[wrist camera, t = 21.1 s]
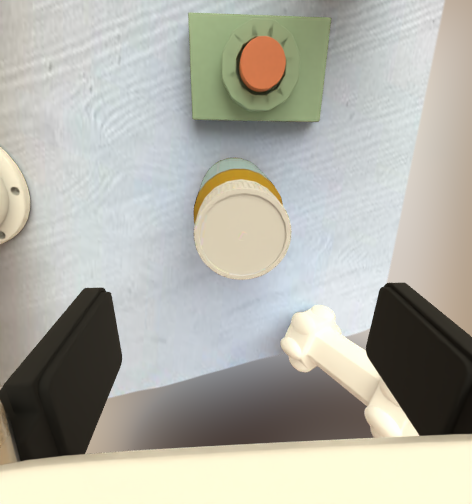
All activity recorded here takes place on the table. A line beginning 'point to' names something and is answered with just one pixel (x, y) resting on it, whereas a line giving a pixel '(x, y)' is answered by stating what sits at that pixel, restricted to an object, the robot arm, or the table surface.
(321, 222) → the table surface
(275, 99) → the button housing
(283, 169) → the table surface
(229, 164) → the bottle
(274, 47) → the orange button cap
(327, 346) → the white bone
